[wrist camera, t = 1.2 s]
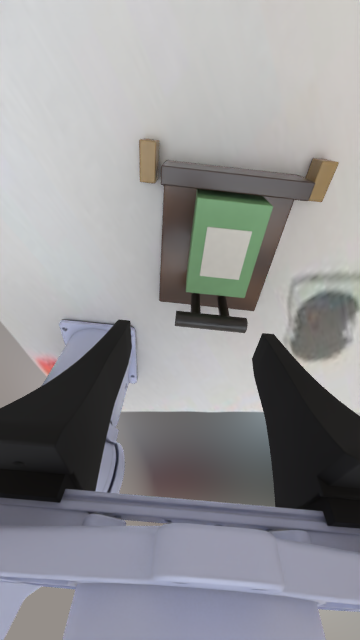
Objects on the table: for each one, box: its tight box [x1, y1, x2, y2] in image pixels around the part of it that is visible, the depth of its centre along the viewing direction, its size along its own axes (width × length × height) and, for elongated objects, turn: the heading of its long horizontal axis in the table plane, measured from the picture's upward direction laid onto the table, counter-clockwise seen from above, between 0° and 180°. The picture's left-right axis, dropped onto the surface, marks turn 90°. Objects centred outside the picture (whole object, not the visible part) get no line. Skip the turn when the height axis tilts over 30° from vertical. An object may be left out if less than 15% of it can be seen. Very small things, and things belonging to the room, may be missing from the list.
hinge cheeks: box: [139, 139, 338, 202], centre depth 15 cm, size 2×12×2 cm, turn 85°
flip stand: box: [159, 160, 315, 333], centre depth 17 cm, size 11×9×5 cm
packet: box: [186, 189, 273, 298], centre depth 17 cm, size 6×4×3 cm
